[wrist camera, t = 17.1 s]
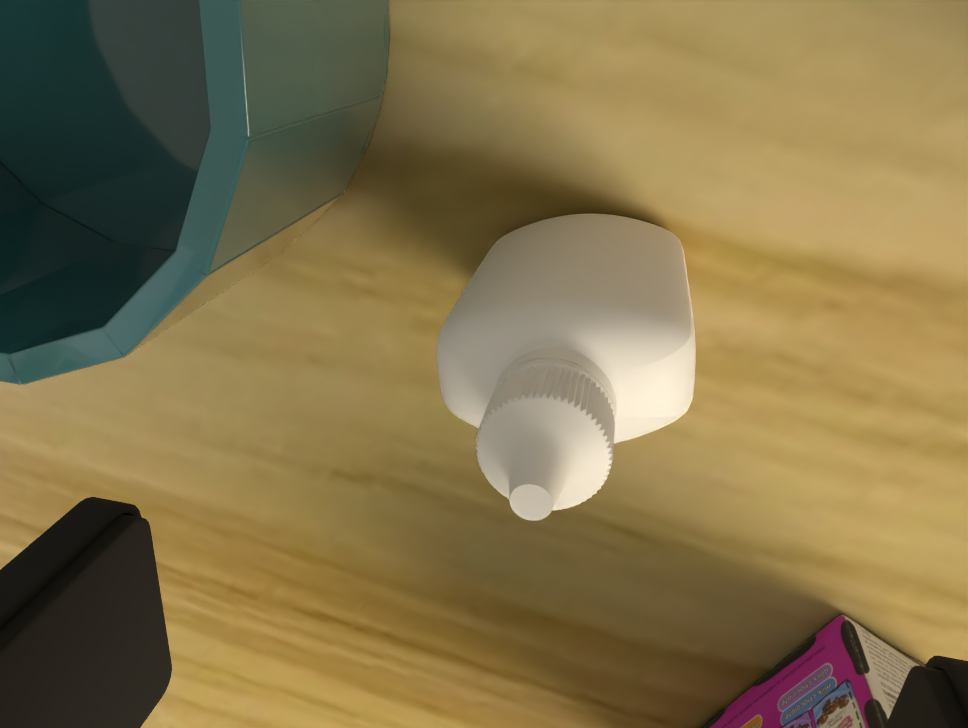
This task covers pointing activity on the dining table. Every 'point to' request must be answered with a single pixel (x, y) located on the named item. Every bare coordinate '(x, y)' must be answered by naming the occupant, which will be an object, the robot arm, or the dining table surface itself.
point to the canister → (165, 157)
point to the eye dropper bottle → (568, 353)
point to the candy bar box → (825, 684)
